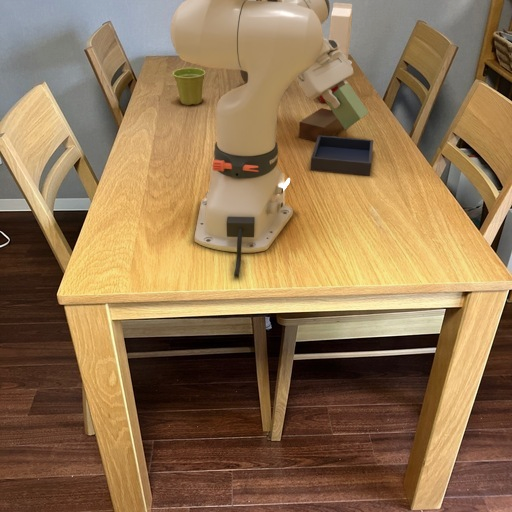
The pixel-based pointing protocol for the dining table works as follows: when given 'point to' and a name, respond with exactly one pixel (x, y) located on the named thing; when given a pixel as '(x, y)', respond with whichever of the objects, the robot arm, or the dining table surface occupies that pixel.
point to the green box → (348, 106)
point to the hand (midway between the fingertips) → (344, 102)
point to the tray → (342, 155)
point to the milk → (341, 26)
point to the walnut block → (319, 125)
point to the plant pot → (189, 84)
